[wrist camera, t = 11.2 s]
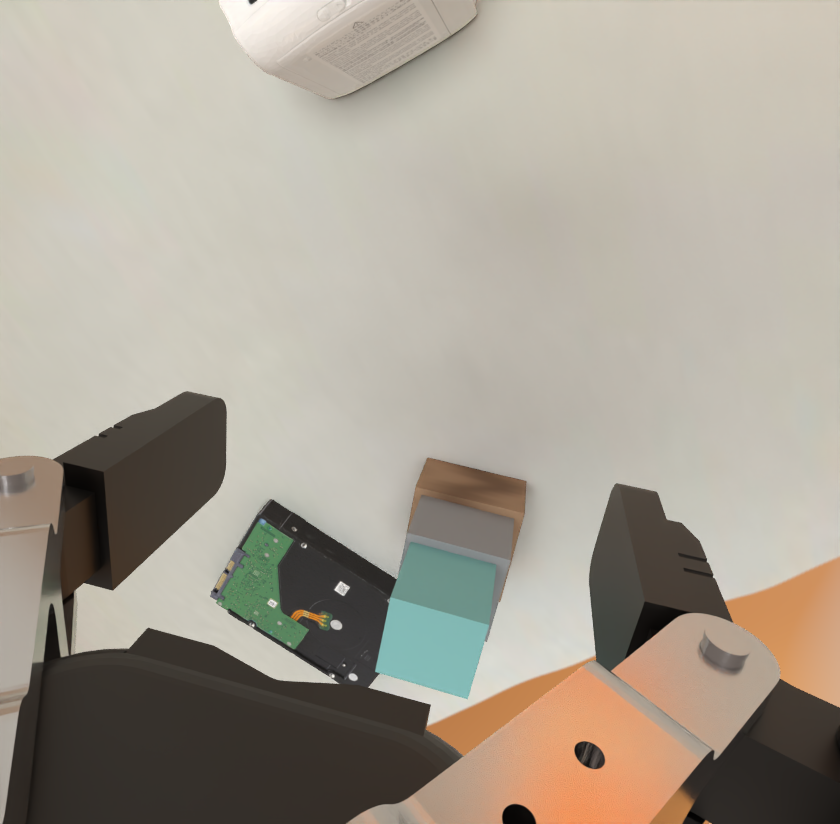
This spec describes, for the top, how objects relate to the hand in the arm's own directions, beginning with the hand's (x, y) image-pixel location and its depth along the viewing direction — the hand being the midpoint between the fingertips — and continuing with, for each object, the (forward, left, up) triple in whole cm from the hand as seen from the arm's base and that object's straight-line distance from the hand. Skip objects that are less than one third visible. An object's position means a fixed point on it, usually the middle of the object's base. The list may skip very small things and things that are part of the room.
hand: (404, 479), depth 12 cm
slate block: (-1, +17, -23) cm, 28 cm away
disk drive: (+8, +27, -28) cm, 40 cm away
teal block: (-1, +17, -18) cm, 25 cm away
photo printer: (+9, -12, -27) cm, 31 cm away
